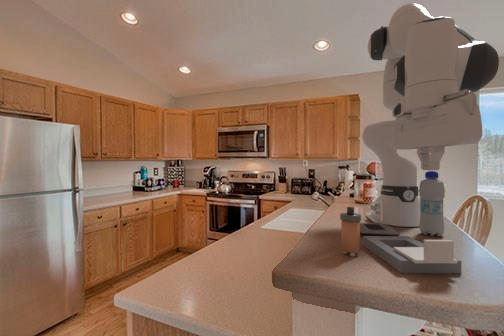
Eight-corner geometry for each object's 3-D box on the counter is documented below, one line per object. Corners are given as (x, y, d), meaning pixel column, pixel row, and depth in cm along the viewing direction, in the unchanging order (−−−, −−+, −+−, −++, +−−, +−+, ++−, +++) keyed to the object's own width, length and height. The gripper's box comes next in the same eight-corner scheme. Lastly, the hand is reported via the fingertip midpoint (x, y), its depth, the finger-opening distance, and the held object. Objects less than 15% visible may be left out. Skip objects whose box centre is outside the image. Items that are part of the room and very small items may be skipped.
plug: (337, 250, 64) (337, 205, 64) (356, 250, 64) (356, 205, 64) (344, 257, 59) (344, 208, 59) (364, 257, 59) (364, 208, 59)
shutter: (393, 249, 57) (393, 229, 57) (429, 249, 57) (429, 229, 57) (419, 265, 48) (419, 241, 48) (461, 265, 48) (461, 241, 48)
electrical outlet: (399, 241, 74) (399, 232, 74) (361, 239, 76) (361, 231, 76) (385, 230, 87) (385, 223, 87) (352, 228, 89) (352, 221, 89)
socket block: (363, 245, 69) (363, 236, 69) (407, 245, 68) (407, 236, 68) (400, 273, 51) (400, 260, 51) (461, 273, 50) (461, 261, 50)
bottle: (446, 238, 74) (446, 171, 74) (419, 235, 78) (419, 171, 78) (443, 233, 80) (443, 170, 80) (418, 230, 84) (418, 170, 84)
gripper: (495, 85, 40) (494, 171, 40) (414, 111, 61) (414, 168, 61) (455, 86, 40) (454, 172, 41) (388, 111, 61) (388, 169, 61)
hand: (430, 170), depth 51 cm, fingers closed
